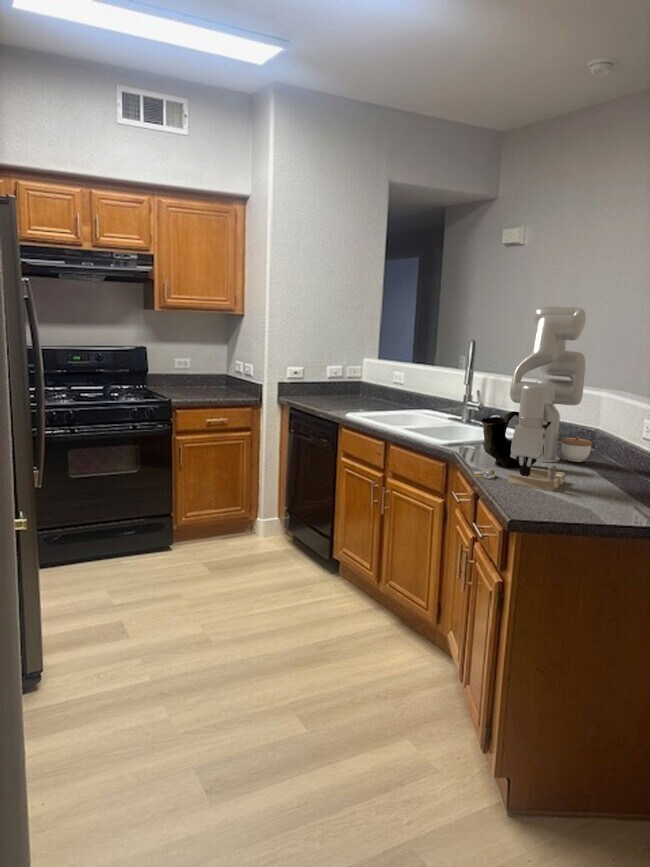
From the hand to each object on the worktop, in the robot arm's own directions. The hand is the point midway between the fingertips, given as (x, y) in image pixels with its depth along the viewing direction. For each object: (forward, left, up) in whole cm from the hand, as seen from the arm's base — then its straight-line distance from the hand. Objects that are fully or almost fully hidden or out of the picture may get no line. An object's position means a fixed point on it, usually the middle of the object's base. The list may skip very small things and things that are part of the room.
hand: (524, 477), depth 215 cm
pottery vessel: (-20, -10, -2) cm, 23 cm away
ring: (0, -15, -1) cm, 15 cm away
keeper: (0, +3, -1) cm, 3 cm away
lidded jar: (-47, +6, -2) cm, 47 cm away
